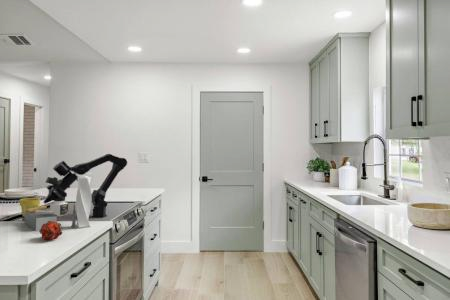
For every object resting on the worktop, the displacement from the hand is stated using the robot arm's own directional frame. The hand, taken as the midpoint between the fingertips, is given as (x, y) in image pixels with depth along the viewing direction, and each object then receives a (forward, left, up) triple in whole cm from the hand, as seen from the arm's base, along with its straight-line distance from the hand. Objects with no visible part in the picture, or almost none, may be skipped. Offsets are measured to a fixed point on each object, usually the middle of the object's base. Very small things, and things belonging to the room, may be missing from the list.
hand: (44, 202), depth 177 cm
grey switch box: (-3, +7, -11) cm, 13 cm away
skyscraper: (-24, +4, -11) cm, 27 cm away
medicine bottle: (+5, -22, -11) cm, 25 cm away
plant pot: (+19, -16, -11) cm, 27 cm away
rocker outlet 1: (+2, +2, -3) cm, 4 cm away
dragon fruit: (-23, +29, -11) cm, 39 cm away
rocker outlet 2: (-8, +11, -3) cm, 14 cm away
